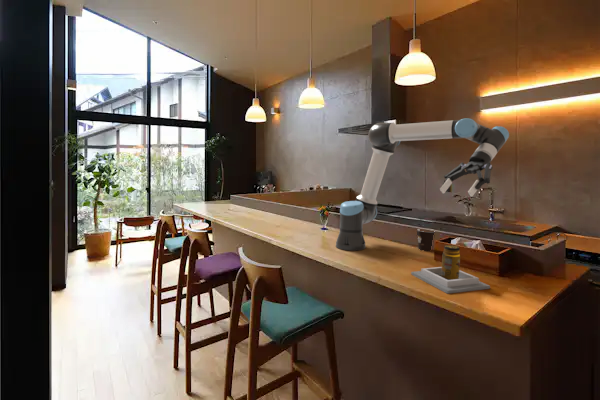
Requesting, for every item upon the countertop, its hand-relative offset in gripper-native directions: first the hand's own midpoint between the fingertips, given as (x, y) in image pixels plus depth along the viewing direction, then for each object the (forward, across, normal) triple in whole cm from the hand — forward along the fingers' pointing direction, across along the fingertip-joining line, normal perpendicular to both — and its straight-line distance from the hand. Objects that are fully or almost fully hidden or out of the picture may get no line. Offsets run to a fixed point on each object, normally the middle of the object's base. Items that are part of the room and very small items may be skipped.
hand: (455, 192), depth 135 cm
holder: (+32, -11, -13) cm, 36 cm away
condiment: (+31, -10, -12) cm, 35 cm away
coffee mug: (+12, +28, -33) cm, 45 cm away
